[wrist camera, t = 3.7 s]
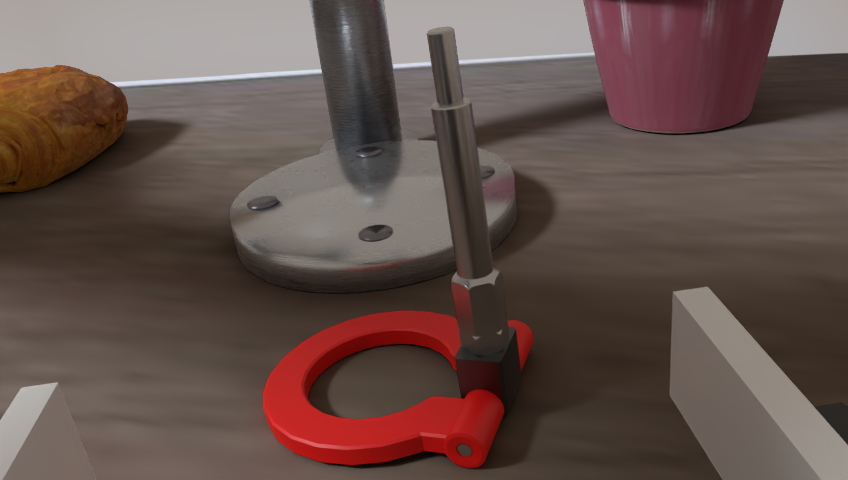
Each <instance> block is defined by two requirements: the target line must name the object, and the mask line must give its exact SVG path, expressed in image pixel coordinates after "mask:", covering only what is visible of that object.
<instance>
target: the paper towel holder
mask: <svg viewBox="0 0 848 480" xmlns="http://www.w3.org/2000/svg"><path fill="white" fill-rule="evenodd" d="M310 6H311V11H312V17H313V23H314V28H315V34H316V40H317V46H318V52H319V57H320V63H321V69H322V75H323V81H324V86H325V92H326V98H327V104H328V110H329V115H330V121H331V127H332V133H333V139H331V140H329V141H327V142H326V143H325V144H323V145H322V147H321V148H320V154H317V155H314V156H311V157H307V158H304V159H301V160H299V161H296V162H293V163H290V164H288V165H286V166H283V167H281V168H279V169H277V170H274V171H272V172H270V173H268V174H266V175H265V176H263V177H261V178H260V179H258V180H256V181H255V182H253V183H252V184H251V185H249V186H248V187H247V188H246V189H244V190H243V191H242V192H241V193H240V194H239V195H238V197H237V198H236V199H235V200H234V202H233V204H232V206H231V208H230V213H229V218H230V224H231V228H232V232H233V236H234V240H235V244H236V248H237V252H238V256H239V259H240V261H241V262H242V264H243V266H244V267H245V268H246V269H247V270H248V271H249V272H251V273H252V274H254V275H255V276H257V277H258V278H260V279H262V280H265V281H267V282H269V283H271V284H275V285H278V286H282V287H285V288H290V289H295V290H301V291H310V292H320V293H351V292H366V291H375V290H384V289H389V288H395V287H400V286H406V285H410V284H414V283H418V282H422V281H426V280H429V279H432V278H435V277H438V276H441V275H445V274H447V273H450V272H452V271H455V270H456V264H455V257H454V251H453V245H452V238H451V232H450V226H449V219H448V213H447V206H446V200H445V194H444V187H443V181H442V175H441V168H440V162H439V155H438V149H437V143H436V141H430V140H418V138H417V135H416V134H415V133H414V132H412V131H409V130H406V129H401V126H400V118H399V111H398V103H397V96H396V88H395V81H394V73H393V65H392V58H391V51H390V43H389V36H388V28H387V20H386V13H385V5H384V0H310ZM477 148H478V147H477ZM478 156H479V163H480V171H481V178H482V186H483V193H484V201H485V208H486V216H487V223H488V230H489V238H490V245H491V251H492V250H493V249H494V248H496V247H497V246H498V245H499V244H500V243H502V242H503V240H504V239H505V238H506V237H507V236H508V235H509V233H510V232H511V230H512V228H513V227H514V224H515V221H516V197H515V182H514V174H513V171H512V168H511V167H510V166H509V164H508V163H507V162H506V161H504V160H503V159H502V158H501V157H499V156H497V155H495V154H494V153H492V152H489V151H487V150H484V149H481V148H478Z"/></svg>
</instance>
